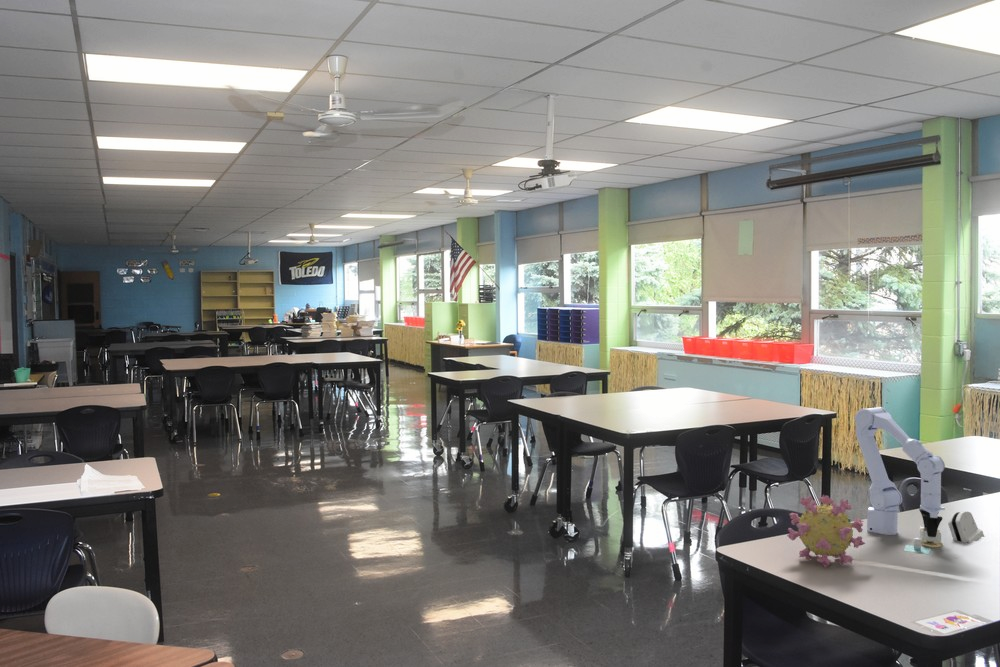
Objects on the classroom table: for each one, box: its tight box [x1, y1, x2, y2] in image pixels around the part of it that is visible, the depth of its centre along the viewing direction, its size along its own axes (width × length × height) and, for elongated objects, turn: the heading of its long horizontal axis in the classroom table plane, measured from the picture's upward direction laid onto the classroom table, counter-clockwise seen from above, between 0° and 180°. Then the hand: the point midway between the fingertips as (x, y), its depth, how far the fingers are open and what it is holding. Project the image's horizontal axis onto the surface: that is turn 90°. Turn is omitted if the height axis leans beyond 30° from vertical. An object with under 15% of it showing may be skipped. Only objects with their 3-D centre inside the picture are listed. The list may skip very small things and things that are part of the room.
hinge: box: [947, 511, 985, 544], centre depth 260 cm, size 17×5×10 cm, turn 135°
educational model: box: [786, 494, 866, 569], centre depth 237 cm, size 23×22×20 cm
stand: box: [903, 537, 932, 555], centre depth 246 cm, size 7×7×4 cm
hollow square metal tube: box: [918, 526, 942, 543], centre depth 252 cm, size 6×6×3 cm
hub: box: [921, 540, 943, 548], centre depth 252 cm, size 7×7×4 cm
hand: (930, 534), depth 251 cm, fingers closed on hollow square metal tube, 6 cm apart
